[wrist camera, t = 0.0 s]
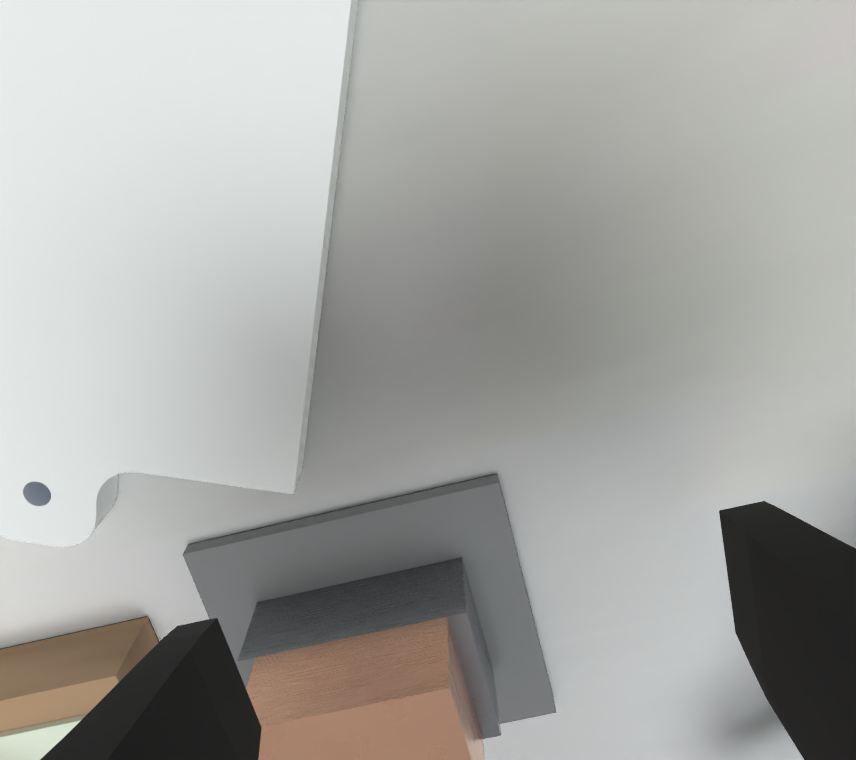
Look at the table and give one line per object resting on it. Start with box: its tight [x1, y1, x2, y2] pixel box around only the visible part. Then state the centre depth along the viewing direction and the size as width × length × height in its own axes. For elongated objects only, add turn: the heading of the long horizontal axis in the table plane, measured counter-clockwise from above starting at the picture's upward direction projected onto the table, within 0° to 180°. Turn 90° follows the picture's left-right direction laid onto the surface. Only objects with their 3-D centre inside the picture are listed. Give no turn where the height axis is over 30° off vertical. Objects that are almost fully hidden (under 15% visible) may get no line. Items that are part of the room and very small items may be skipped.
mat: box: [183, 474, 556, 724], centre depth 23 cm, size 8×9×1 cm
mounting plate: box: [0, 0, 358, 547], centre depth 18 cm, size 18×13×2 cm
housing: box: [237, 557, 501, 760], centre depth 20 cm, size 4×6×5 cm, turn 104°
